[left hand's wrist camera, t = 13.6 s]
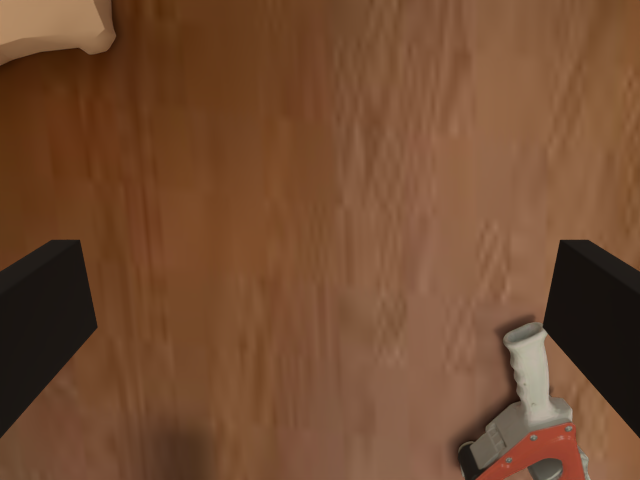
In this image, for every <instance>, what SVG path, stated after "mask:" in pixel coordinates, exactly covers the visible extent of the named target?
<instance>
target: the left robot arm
mask: <svg viewBox="0 0 640 480" xmlns="http://www.w3.org/2000/svg"><path fill="white" fill-rule="evenodd" d="M96 329H97V322H96V317H95V312H94V307H93V302H92V297H91V292H90V287H89V283H88V278H87V273H86V268H85V263H84V258H83V253H82V248H81V243H80V240H51V241H49V242H48V243H46V244H44V245H43V246H41V247H39V248H38V249H36V250H35V251H33V252H31V253H30V254H28V255H27V256H25V257H23V258H22V259H20V260H18V261H17V262H15V263H14V264H12V265H10V266H9V267H7V268H6V269H4V270H2V271H1V272H0V438H1V437H2V436H3V435H4V433H5V432H6V431H7V430H8V429H9V428H10V427H11V426H12V424H13V423H14V422H15V421H16V420H17V419H18V418H19V416H20V415H21V414H22V413H23V412H24V411H25V410H26V408H27V407H28V406H29V405H30V404H31V403H32V402H33V400H34V399H35V398H36V397H37V396H38V395H39V394H40V392H41V391H42V390H43V389H44V388H45V387H46V386H47V384H48V383H49V382H50V381H51V380H52V379H53V378H54V376H55V375H56V374H57V373H58V372H59V371H60V370H61V369H62V367H63V366H64V365H65V364H66V363H67V362H68V361H69V359H70V358H71V357H72V356H73V355H74V354H75V353H76V351H77V350H78V349H79V348H80V347H81V346H82V345H83V343H84V342H85V341H86V340H87V339H88V338H89V337H90V335H91V334H92V333H93V332H94V331H95V330H96ZM543 329H544V330H545V331H546V332H547V333H548V334H549V335H550V337H551V338H552V339H553V340H554V341H555V342H556V343H557V345H558V346H559V347H560V348H561V349H562V350H563V351H564V353H565V354H566V355H567V356H568V357H569V358H570V359H571V361H572V362H573V363H574V364H575V365H576V366H577V367H578V369H579V370H580V371H581V372H582V373H583V374H584V375H585V376H586V378H587V379H588V380H589V381H590V382H591V383H592V384H593V386H594V387H595V388H596V389H597V390H598V391H599V392H600V394H601V395H602V396H603V397H604V398H605V399H606V400H607V402H608V403H609V404H610V405H611V406H612V407H613V408H614V410H615V411H616V412H617V413H618V414H619V415H620V416H621V418H622V419H623V420H624V421H625V422H626V423H627V424H628V426H629V427H630V428H631V429H632V430H633V431H634V432H635V433H636V435H637V436H638V437H639V438H640V272H639V271H638V270H636V269H634V268H633V267H631V266H630V265H628V264H626V263H625V262H623V261H622V260H620V259H618V258H617V257H615V256H613V255H612V254H610V253H609V252H607V251H605V250H604V249H602V248H601V247H599V246H597V245H596V244H594V243H592V242H591V241H589V240H560V243H559V248H558V253H557V258H556V263H555V268H554V273H553V278H552V283H551V287H550V292H549V297H548V302H547V307H546V312H545V317H544V322H543Z"/></svg>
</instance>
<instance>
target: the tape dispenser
mask: <svg viewBox="0 0 640 480" xmlns="http://www.w3.org/2000/svg"><path fill="white" fill-rule="evenodd" d="M547 334H548V333H547V332H546V331H545V330H544V329H543V324H542V323H540V322H532V323H528V324H526V325H523V326H521V327H519V328H517V329H515V330H512V331H510V332H508V333H507V334H506V335H505V336H504V338H503V343H504V345H505V346H506V347H507V348H508V349H509V351H510V355H511V359H510V364H511V366H512V367H513V368H514V379H515V381H516V382H517V390H516V391H517V394H518V396H519V397H520V399H521V401H519V402H516V403H513V404H511V405H509V406H508V407H507V408H506V409H505V410H504V411H503V412H501V413H500V414H499V415H498V416H497V417H496V418H495V419H494V420H492V421H491V422H490V423H489V424H488V425H487V426H486V430H485V431H486V433H485V434H483V435H482V436H481V437H480V438H479V439H478V440H477V441H476V442H473V441H469V442H466V443H464V444H462V445H461V446H460V447H459V450H458V460H459V463H460V467H461V473H462V476H463V477H465V480H503V479H504V478H506V477H508V476H510V475H512V474H514V473H516V472H518V471H520V470H522V469H524V468H526V467H528V470H529V473H530V474H531V476H532V478H533V479H534V480H591V479H590V478H589V475H588V471H587V466H588V460H589V459H588V457H587V456H586V455H585V454H584V452H583V451H582V450H581V449H580V447H579V446H578V445H577V442H576V440H575V439H576V427H575V425H574V423H573V422H572V408H571V407H570V406H569V405H568V404H567V403H566V401H565V400H564V399H563V398H557V397H551V396H550V395H549V372H548V362H547V356H546V351H545V347H544V340H545V338H546V336H547Z"/></svg>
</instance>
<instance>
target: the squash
mask: <svg viewBox="0 0 640 480" xmlns="http://www.w3.org/2000/svg"><path fill="white" fill-rule="evenodd" d="M115 38H116V34H115V31H114V28H113V22H112V6H111V0H0V66H1V65H3V64H5V63H7V62H9V61H11V60H14V59H17V58H21V57H24V56H28V55H31V54H35V53H38V52H44V51H53V50H61V49H70V48H80V49H82V50H83V51H85V52H86V53H88V54H89V55H90V54H97V53H101V52H105V51H107V50H108V49H109V48H110V47H111V45H112V43H113V42H114V40H115Z"/></svg>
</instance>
